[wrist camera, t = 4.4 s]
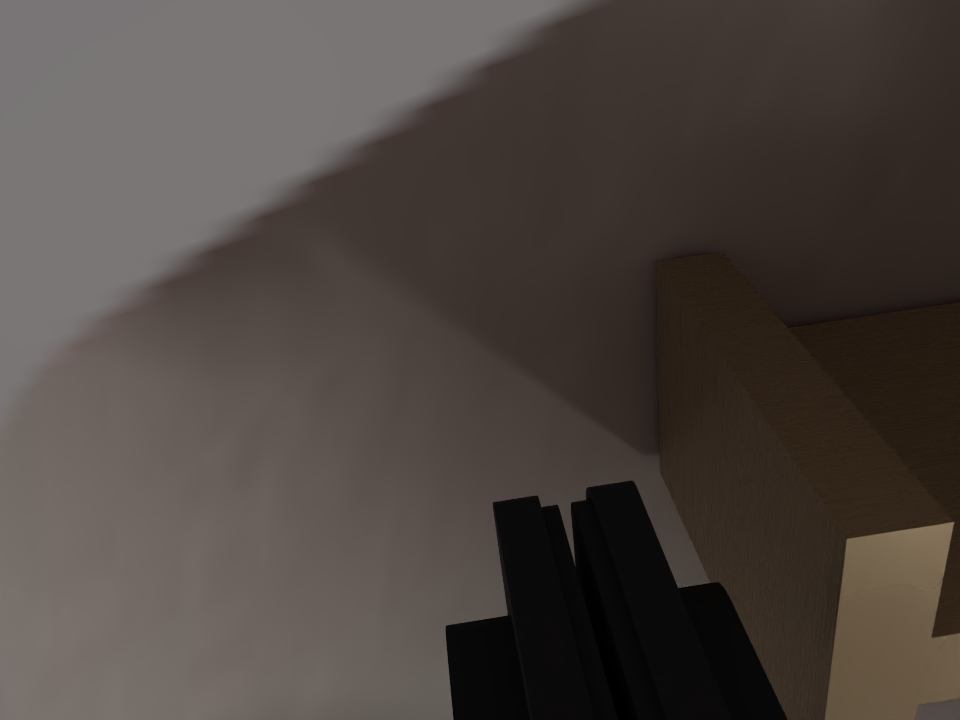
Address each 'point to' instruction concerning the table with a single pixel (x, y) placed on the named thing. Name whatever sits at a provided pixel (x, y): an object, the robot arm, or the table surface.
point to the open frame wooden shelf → (819, 487)
